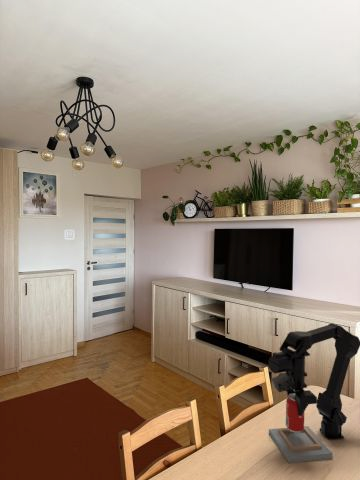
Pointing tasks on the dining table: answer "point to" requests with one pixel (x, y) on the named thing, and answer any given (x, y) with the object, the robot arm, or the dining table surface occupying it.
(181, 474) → the dining table surface
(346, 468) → the dining table surface
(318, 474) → the dining table surface
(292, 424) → the beverage can
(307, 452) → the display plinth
